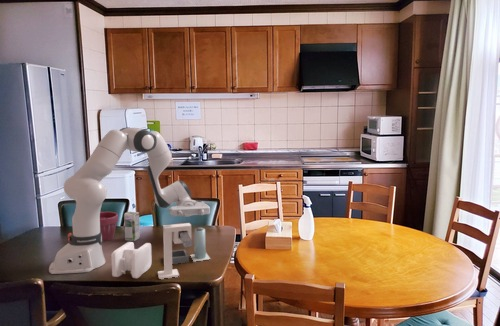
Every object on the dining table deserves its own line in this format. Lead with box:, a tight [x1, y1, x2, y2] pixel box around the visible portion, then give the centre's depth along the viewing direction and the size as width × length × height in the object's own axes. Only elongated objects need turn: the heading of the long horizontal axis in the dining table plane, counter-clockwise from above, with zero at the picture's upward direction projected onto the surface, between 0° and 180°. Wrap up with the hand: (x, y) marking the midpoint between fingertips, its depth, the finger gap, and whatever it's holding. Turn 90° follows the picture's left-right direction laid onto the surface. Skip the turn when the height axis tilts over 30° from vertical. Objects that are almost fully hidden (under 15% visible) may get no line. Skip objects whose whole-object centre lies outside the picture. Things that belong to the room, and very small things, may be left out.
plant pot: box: [100, 211, 119, 242], centre depth 199 cm, size 14×14×13 cm
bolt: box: [178, 222, 193, 248], centre depth 152 cm, size 4×21×4 cm, turn 20°
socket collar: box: [172, 248, 190, 265], centre depth 171 cm, size 9×9×3 cm
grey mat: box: [189, 252, 211, 263], centre depth 174 cm, size 8×8×1 cm
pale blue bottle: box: [193, 226, 207, 259], centre depth 173 cm, size 5×5×14 cm
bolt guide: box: [157, 222, 193, 280], centre depth 155 cm, size 14×6×21 cm, turn 110°
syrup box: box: [123, 211, 141, 242], centre depth 198 cm, size 6×6×14 cm
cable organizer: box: [110, 241, 153, 279], centre depth 156 cm, size 15×11×12 cm
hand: (192, 214), depth 184 cm, fingers open, 8 cm apart
